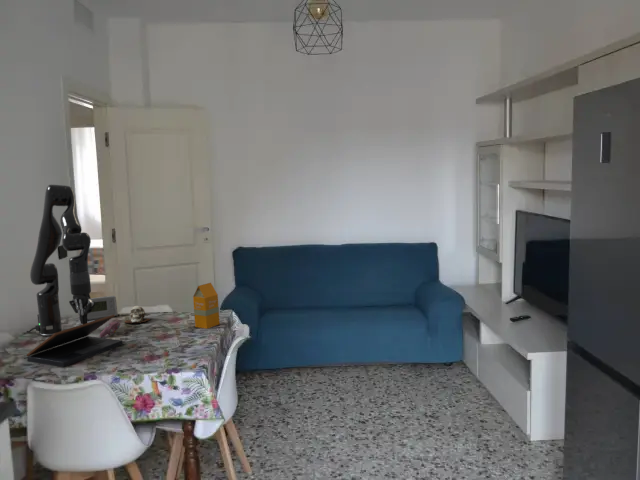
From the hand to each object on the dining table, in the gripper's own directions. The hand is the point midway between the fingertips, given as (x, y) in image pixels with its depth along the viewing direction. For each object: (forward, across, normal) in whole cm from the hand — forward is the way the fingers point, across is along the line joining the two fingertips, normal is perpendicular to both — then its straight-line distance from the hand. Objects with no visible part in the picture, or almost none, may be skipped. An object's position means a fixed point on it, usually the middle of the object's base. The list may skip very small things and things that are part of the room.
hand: (84, 323), depth 232 cm
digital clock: (+13, +43, -47) cm, 65 cm away
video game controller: (+13, +13, -25) cm, 31 cm away
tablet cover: (+6, +7, 0) cm, 9 cm away
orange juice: (+13, -22, -52) cm, 58 cm away
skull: (+13, +18, -47) cm, 52 cm away
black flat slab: (+13, +6, 0) cm, 14 cm away
